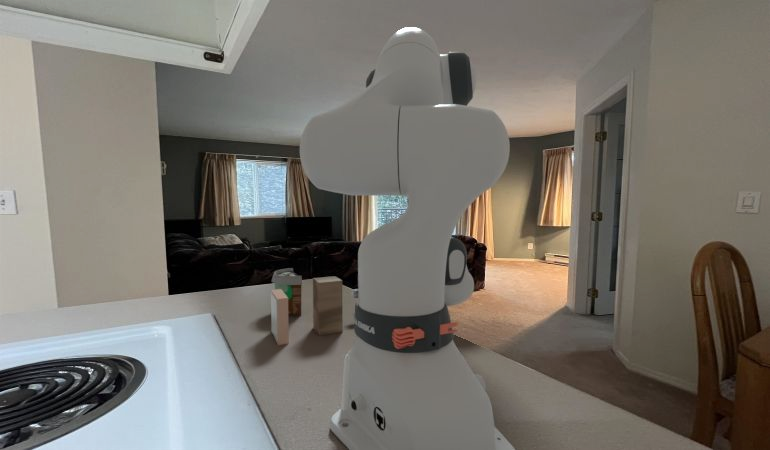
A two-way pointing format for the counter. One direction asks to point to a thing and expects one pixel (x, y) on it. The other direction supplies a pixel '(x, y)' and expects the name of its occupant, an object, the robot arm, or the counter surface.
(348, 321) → the counter surface
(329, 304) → the block
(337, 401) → the counter surface
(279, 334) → the tile
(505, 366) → the counter surface
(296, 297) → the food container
